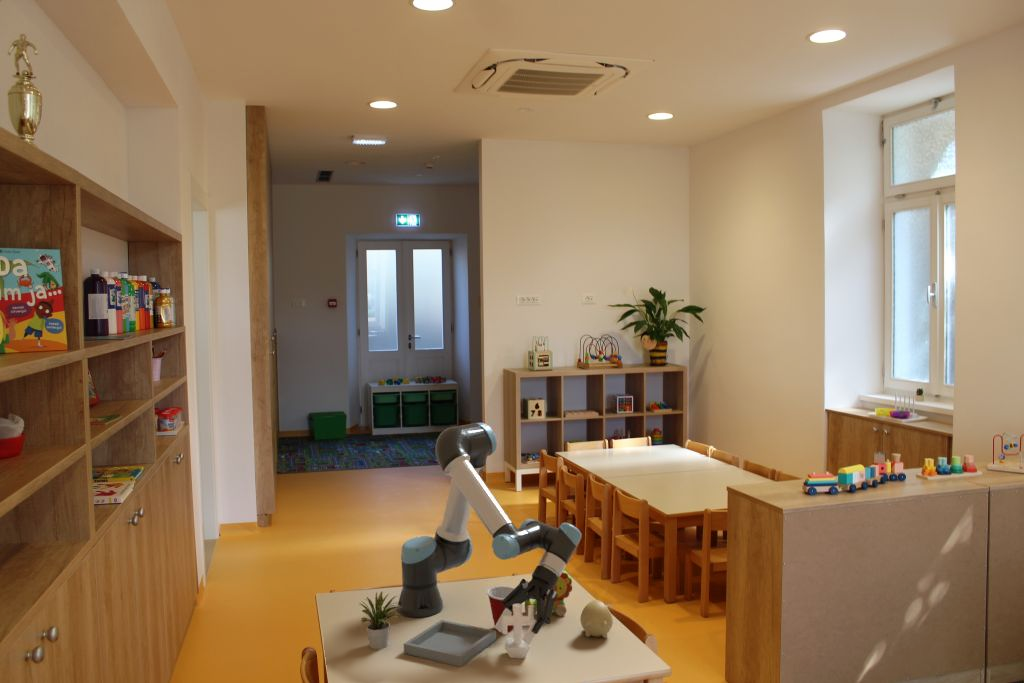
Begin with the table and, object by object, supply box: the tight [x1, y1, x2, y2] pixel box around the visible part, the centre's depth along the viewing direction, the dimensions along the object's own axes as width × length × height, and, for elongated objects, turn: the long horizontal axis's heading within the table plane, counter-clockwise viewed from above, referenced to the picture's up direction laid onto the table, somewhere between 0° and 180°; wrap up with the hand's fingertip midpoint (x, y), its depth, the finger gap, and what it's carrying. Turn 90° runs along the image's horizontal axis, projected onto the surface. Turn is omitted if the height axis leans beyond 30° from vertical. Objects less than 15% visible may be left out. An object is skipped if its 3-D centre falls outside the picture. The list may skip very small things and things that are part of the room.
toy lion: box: [524, 570, 573, 617], centre depth 267 cm, size 16×5×15 cm, turn 92°
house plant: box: [359, 591, 399, 650], centre depth 244 cm, size 14×14×16 cm
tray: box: [403, 619, 497, 668], centre depth 243 cm, size 20×20×3 cm
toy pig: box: [579, 599, 614, 639], centre depth 249 cm, size 10×12×11 cm
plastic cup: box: [486, 585, 516, 632], centre depth 256 cm, size 11×11×12 cm
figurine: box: [501, 603, 535, 659], centre depth 236 cm, size 7×9×15 cm
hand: (511, 636), depth 234 cm, fingers open, 12 cm apart
